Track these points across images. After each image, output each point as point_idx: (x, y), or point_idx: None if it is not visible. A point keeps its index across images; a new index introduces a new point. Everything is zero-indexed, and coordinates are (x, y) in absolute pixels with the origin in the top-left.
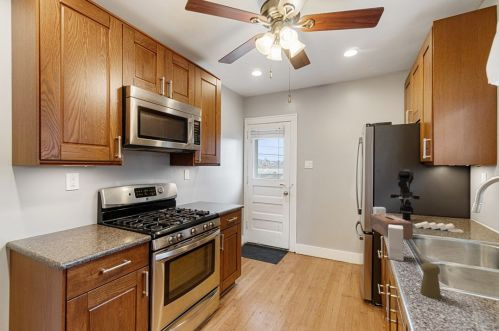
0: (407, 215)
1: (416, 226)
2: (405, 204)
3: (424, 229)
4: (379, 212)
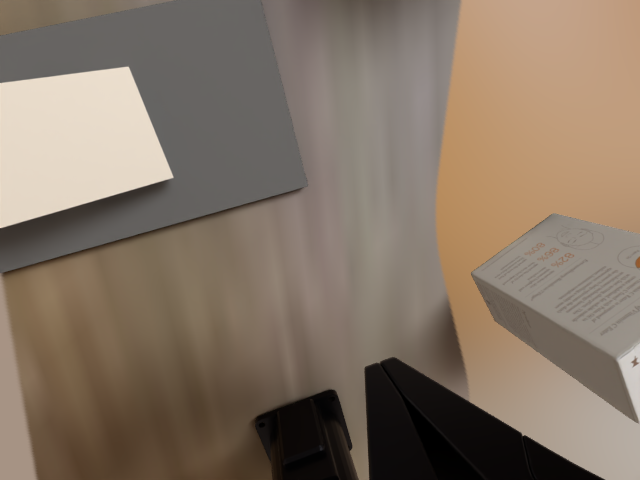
0: (303, 463)
1: (119, 69)
2: (392, 453)
3: (8, 47)
4: (622, 268)
